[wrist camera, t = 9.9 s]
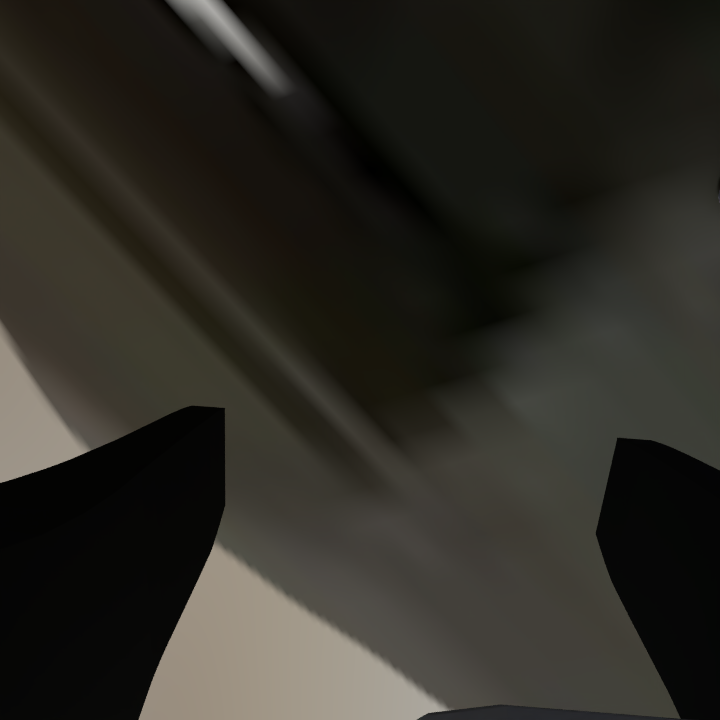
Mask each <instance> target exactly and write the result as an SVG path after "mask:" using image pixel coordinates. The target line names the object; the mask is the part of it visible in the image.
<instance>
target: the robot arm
mask: <svg viewBox="0 0 720 720" xmlns="http://www.w3.org/2000/svg"><path fill="white" fill-rule="evenodd" d="M718 197H719V203H720V191H719V196H718ZM224 507H225V408H216V407H203V406H189V407H185V408H183V409H180V410H178V411H176V412H173V413H171V414H169V415H167V416H165V417H163V418H161V419H159V420H157V421H154V422H152V423H150V424H148V425H146V426H144V427H142V428H140V429H138V430H136V431H134V432H132V433H130V434H128V435H125V436H123V437H121V438H119V439H117V440H115V441H112V442H110V443H108V444H105V445H103V446H101V447H98V448H96V449H94V450H91V451H89V452H87V453H84V454H82V455H80V456H78V457H75V458H73V459H71V460H68V461H65V462H63V463H60V464H58V465H54V466H52V467H49V468H46V469H43V470H40V471H37V472H34V473H31V474H28V475H25V476H22V477H19V478H16V479H13V480H9V481H6V482H2V483H0V720H138V719H139V716H140V714H141V711H142V708H143V705H144V702H145V699H146V696H147V693H148V690H149V687H150V685H151V682H152V679H153V677H154V674H155V672H156V669H157V667H158V665H159V662H160V660H161V657H162V655H163V653H164V651H165V648H166V646H167V644H168V642H169V640H170V638H171V636H172V634H173V631H174V629H175V627H176V625H177V623H178V621H179V619H180V617H181V614H182V612H183V610H184V608H185V606H186V604H187V602H188V600H189V598H190V596H191V593H192V591H193V589H194V587H195V585H196V583H197V581H198V579H199V576H200V574H201V572H202V570H203V568H204V566H205V563H206V561H207V559H208V557H209V555H210V552H211V550H212V547H213V544H214V541H215V538H216V534H217V531H218V528H219V525H220V521H221V518H222V514H223V511H224ZM596 536H597V539H598V542H599V546H600V549H601V552H602V555H603V558H604V561H605V564H606V567H607V570H608V573H609V575H610V578H611V581H612V583H613V585H614V587H615V589H616V591H617V593H618V595H619V597H620V599H621V601H622V603H623V605H624V607H625V609H626V611H627V613H628V615H629V617H630V619H631V621H632V623H633V625H634V627H635V629H636V631H637V633H638V634H639V636H640V638H641V640H642V642H643V644H644V646H645V648H646V650H647V652H648V654H649V656H650V658H651V659H652V661H653V663H654V665H655V667H656V669H657V671H658V673H659V675H660V677H661V679H662V681H663V683H664V685H665V686H666V688H667V690H668V692H669V694H670V696H671V699H672V701H673V703H674V705H675V707H676V709H677V712H678V714H679V716H680V718H681V719H676V718H663V717H651V716H638V715H625V714H613V713H600V712H588V711H575V710H563V709H550V708H537V707H525V706H512V705H493V706H484V707H476V708H468V709H459V710H451V711H442V712H434V713H428V714H426V715H424V716H423V717H421V718H419V719H417V720H720V470H718V469H716V468H713V467H711V466H709V465H707V464H705V463H703V462H701V461H699V460H697V459H695V458H693V457H691V456H689V455H687V454H685V453H683V452H680V451H678V450H676V449H674V448H671V447H669V446H666V445H664V444H661V443H658V442H655V441H652V440H640V439H626V438H617V442H616V447H615V451H614V455H613V460H612V464H611V469H610V473H609V477H608V482H607V486H606V491H605V495H604V499H603V504H602V508H601V513H600V517H599V521H598V526H597V530H596Z"/></svg>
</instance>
